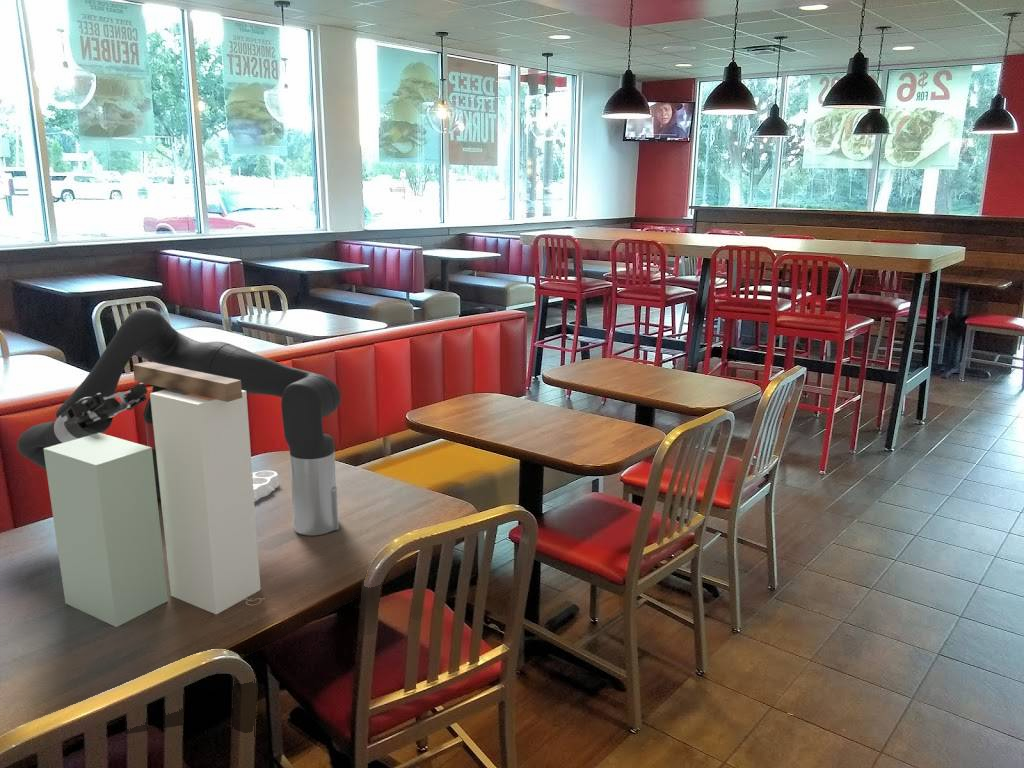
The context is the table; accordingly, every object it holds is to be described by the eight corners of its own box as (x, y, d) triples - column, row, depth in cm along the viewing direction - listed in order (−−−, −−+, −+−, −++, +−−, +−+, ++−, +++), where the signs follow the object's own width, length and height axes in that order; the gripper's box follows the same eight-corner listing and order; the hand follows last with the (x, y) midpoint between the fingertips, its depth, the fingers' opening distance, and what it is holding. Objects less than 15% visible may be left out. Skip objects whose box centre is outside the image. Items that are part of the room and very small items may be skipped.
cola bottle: (199, 492, 190) (188, 370, 182) (173, 505, 182) (161, 379, 174) (170, 487, 192) (158, 367, 185) (144, 500, 185) (130, 375, 177)
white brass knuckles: (246, 477, 201) (292, 487, 195) (190, 503, 185) (239, 515, 179) (245, 464, 200) (291, 474, 194) (189, 489, 184) (238, 501, 178)
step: (65, 603, 141) (43, 448, 133) (117, 579, 149) (99, 432, 142) (116, 627, 134) (96, 465, 126) (167, 600, 142) (151, 447, 135)
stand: (171, 595, 144) (149, 392, 134) (216, 572, 152) (199, 380, 142) (216, 614, 138) (197, 404, 128) (260, 589, 146) (246, 390, 137)
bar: (134, 381, 141) (132, 364, 141) (149, 377, 144) (147, 361, 143) (227, 401, 130) (226, 384, 129) (242, 397, 132) (240, 380, 131)
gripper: (38, 413, 149) (77, 382, 141) (108, 396, 161) (149, 366, 152) (54, 450, 149) (95, 421, 140) (124, 430, 161) (165, 402, 152)
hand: (123, 392), depth 146 cm, fingers open, 8 cm apart
